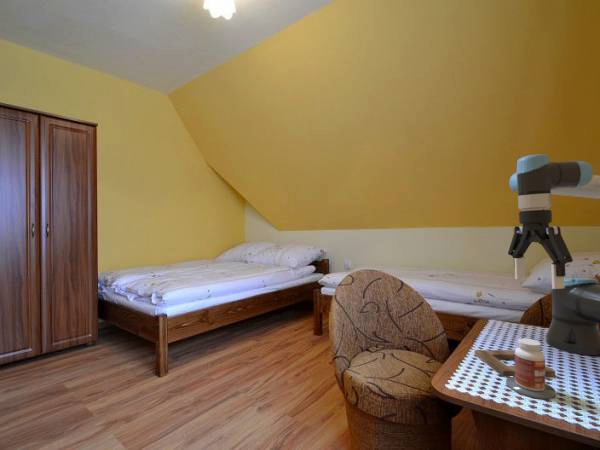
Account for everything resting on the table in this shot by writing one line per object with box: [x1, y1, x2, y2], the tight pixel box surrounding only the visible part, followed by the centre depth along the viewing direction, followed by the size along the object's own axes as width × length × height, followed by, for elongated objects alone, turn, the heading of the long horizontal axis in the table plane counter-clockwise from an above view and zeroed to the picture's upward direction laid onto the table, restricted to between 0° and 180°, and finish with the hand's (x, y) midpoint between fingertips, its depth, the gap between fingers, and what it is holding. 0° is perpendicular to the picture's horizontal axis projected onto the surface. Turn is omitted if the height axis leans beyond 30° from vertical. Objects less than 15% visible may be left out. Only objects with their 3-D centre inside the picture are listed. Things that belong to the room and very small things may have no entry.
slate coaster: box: [505, 376, 557, 400], centre depth 78 cm, size 10×10×1 cm
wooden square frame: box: [474, 349, 556, 378], centre depth 91 cm, size 14×14×2 cm
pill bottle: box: [514, 338, 546, 391], centre depth 78 cm, size 6×6×11 cm
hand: (538, 283), depth 90 cm, fingers open, 13 cm apart
